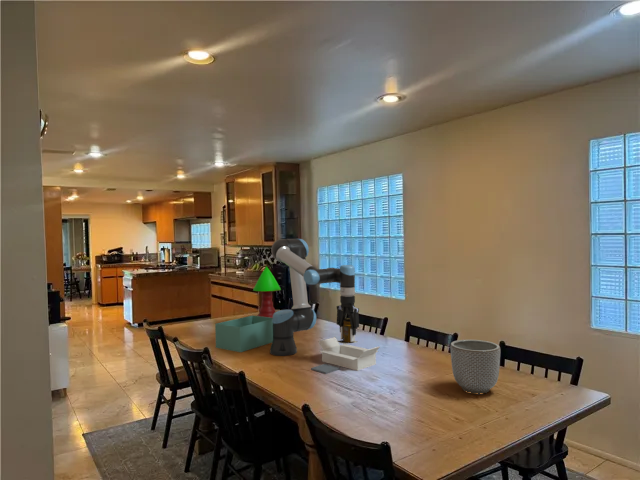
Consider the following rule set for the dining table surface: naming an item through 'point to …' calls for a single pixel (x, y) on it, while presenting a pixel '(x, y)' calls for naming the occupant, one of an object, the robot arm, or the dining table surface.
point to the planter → (475, 364)
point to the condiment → (346, 332)
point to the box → (244, 333)
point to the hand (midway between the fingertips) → (347, 339)
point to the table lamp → (266, 292)
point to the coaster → (325, 368)
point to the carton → (347, 355)
